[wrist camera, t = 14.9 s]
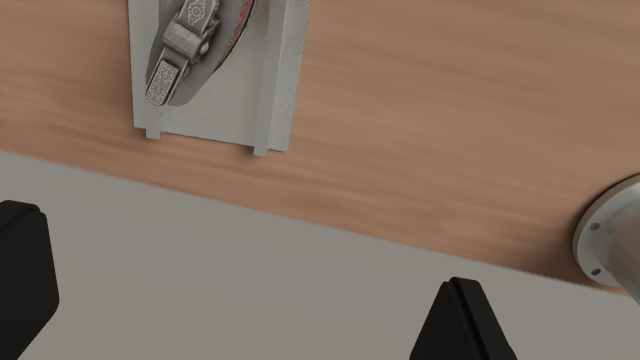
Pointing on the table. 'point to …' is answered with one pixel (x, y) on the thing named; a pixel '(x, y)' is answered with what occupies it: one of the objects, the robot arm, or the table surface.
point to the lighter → (193, 46)
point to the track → (229, 79)
